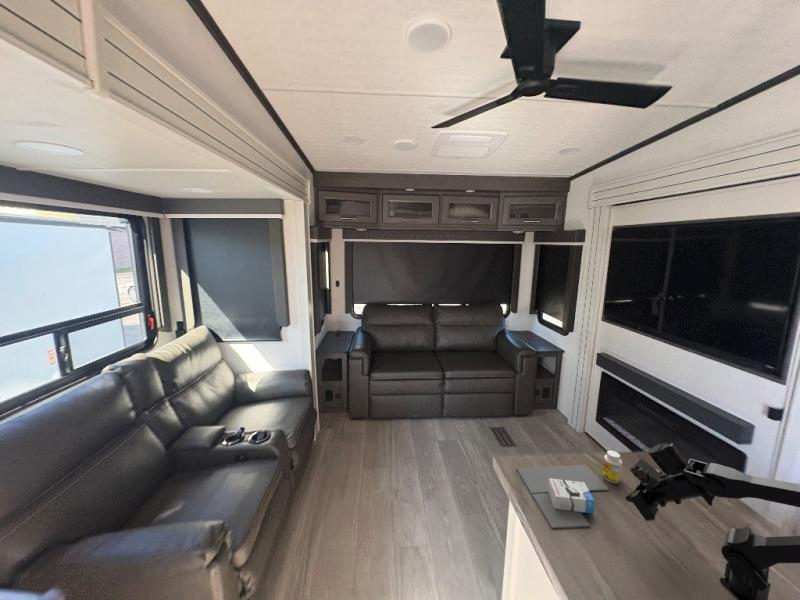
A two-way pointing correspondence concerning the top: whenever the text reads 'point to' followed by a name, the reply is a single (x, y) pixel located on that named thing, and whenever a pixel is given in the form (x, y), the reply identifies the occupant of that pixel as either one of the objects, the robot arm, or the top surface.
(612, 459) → the supplement bottle
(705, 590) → the top surface
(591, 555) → the top surface
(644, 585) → the top surface
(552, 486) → the ink box
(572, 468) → the rubber mat
